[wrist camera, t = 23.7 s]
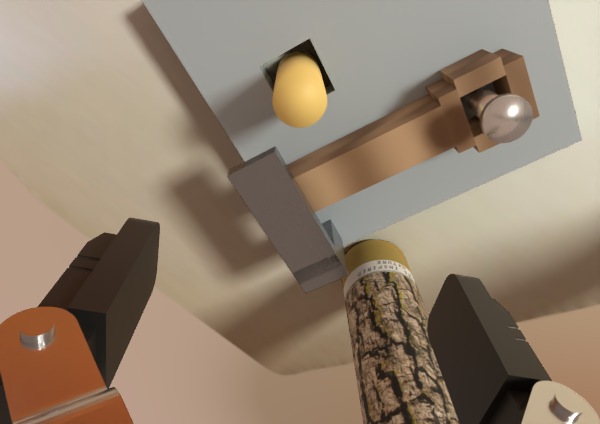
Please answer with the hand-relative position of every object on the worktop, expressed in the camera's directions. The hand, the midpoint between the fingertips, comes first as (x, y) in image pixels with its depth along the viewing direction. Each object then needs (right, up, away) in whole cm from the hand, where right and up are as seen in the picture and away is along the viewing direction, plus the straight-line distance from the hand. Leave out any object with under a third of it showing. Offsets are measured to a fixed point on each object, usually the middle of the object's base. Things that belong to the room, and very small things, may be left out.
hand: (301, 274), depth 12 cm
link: (+7, +8, +25) cm, 27 cm away
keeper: (-1, +4, +30) cm, 30 cm away
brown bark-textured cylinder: (+8, -4, +34) cm, 35 cm away
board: (+6, +14, +25) cm, 29 cm away
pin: (0, +13, +25) cm, 28 cm away
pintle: (+14, +12, +25) cm, 31 cm away
